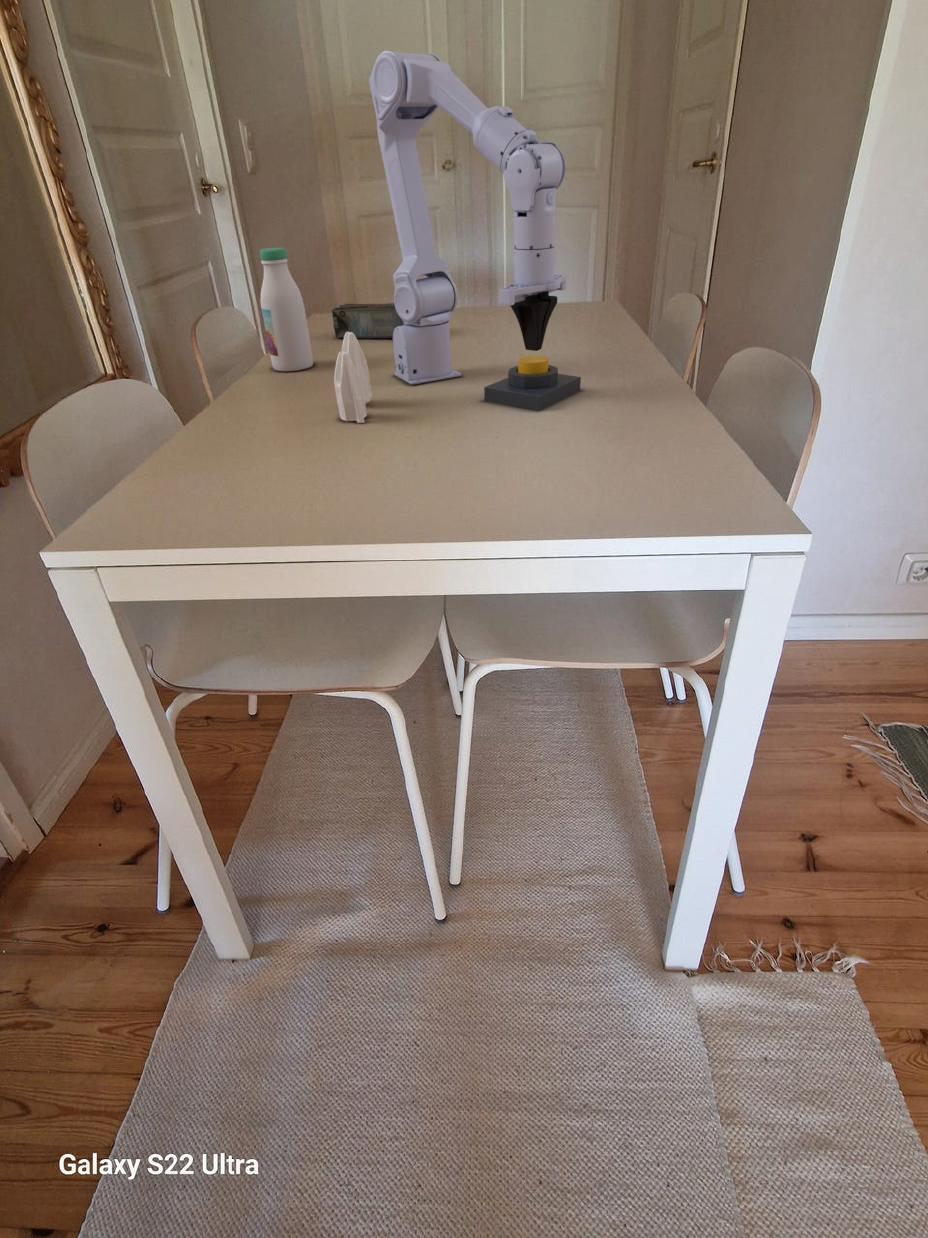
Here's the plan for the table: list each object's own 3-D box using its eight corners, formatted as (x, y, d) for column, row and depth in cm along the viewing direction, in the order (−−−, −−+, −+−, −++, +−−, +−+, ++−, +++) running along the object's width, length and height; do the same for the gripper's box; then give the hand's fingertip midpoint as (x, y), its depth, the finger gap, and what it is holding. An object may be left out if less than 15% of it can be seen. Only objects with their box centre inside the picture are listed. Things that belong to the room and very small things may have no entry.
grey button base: (538, 411, 101) (538, 383, 99) (484, 401, 106) (483, 374, 104) (580, 390, 109) (581, 364, 106) (527, 382, 114) (528, 357, 112)
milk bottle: (318, 361, 133) (300, 245, 122) (307, 371, 127) (286, 249, 116) (280, 362, 134) (258, 246, 123) (267, 372, 128) (243, 251, 117)
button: (537, 378, 103) (537, 363, 102) (512, 374, 105) (512, 360, 104) (553, 371, 106) (554, 357, 105) (529, 367, 108) (529, 353, 107)
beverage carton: (349, 330, 156) (345, 299, 153) (428, 332, 151) (426, 299, 148) (334, 338, 150) (329, 306, 146) (416, 340, 145) (414, 306, 142)
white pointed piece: (349, 400, 110) (339, 326, 104) (375, 399, 110) (366, 325, 104) (336, 424, 100) (324, 344, 94) (365, 423, 100) (354, 343, 94)
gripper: (528, 254, 89) (528, 362, 97) (585, 242, 98) (581, 341, 106) (485, 253, 93) (488, 357, 101) (544, 241, 102) (542, 337, 110)
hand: (533, 349), depth 104 cm, fingers closed
